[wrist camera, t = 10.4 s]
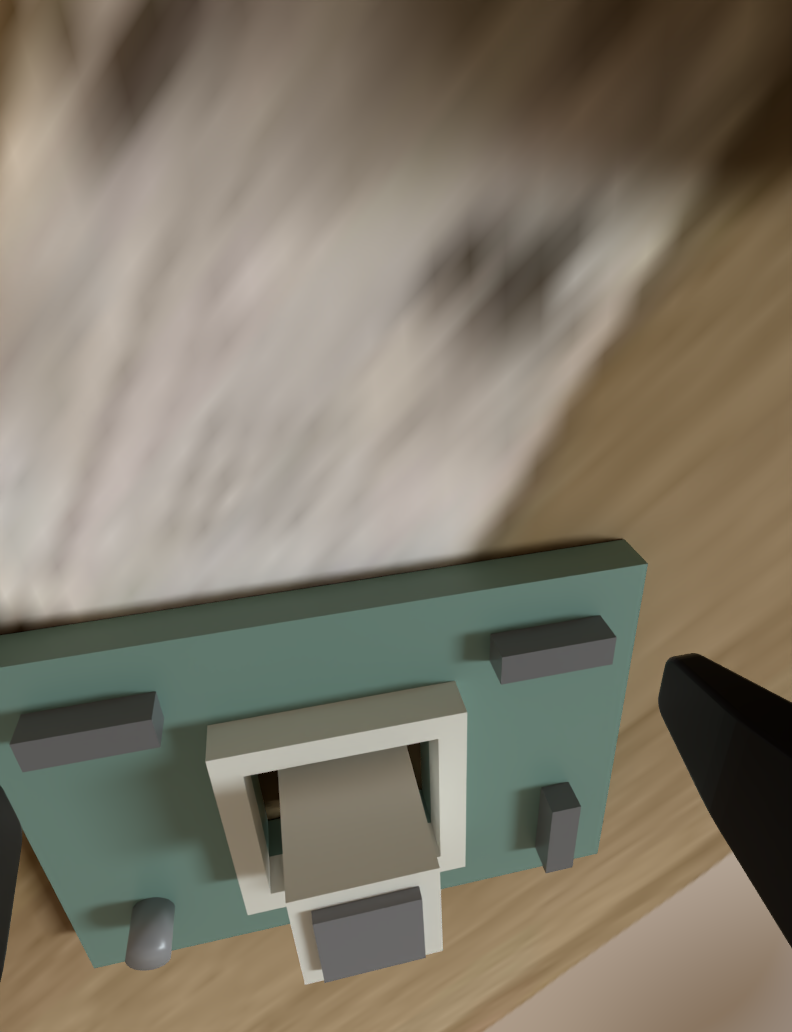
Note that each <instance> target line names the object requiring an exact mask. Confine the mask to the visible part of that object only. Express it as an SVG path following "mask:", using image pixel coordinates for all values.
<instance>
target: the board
mask: <svg viewBox="0 0 792 1032" xmlns="http://www.w3.org/2000/svg"><path fill="white" fill-rule="evenodd" d="M647 565H648V563H647V562H646V561H645V560H644V559H643V558H642V557H641V556H640V555H639V554H638V553H637V552H636V551H635V550H634V549H633V548H632V547H631V546H630V545H629V544H628V543H627V542H626V540H625V539H624V540H618V541H611V542H605V543H598V544H592V545H585V546H579V547H572V548H566V549H559V550H553V551H546V552H540V553H533V554H527V555H520V556H514V557H507V558H501V559H494V560H488V561H481V562H475V563H468V564H462V565H455V566H448V567H442V568H435V569H429V570H422V571H416V572H409V573H403V574H396V575H390V576H383V577H377V578H370V579H364V580H357V581H351V582H344V583H338V584H331V585H325V586H318V587H312V588H305V589H299V590H292V591H286V592H279V593H273V594H266V595H260V596H253V597H247V598H240V599H234V600H227V601H221V602H214V603H208V604H201V605H195V606H188V607H182V608H175V609H169V610H162V611H156V612H149V613H143V614H136V615H130V616H123V617H116V618H110V619H103V620H97V621H90V622H84V623H77V624H71V625H64V626H58V627H51V628H45V629H38V630H32V631H25V632H19V633H12V634H6V635H0V785H1V787H2V788H3V790H4V792H5V794H6V796H7V798H8V799H9V801H10V803H11V805H12V807H13V809H14V811H15V813H16V815H17V817H18V819H19V821H20V824H21V827H22V829H23V831H24V833H25V835H26V837H27V839H28V840H29V842H30V844H31V846H32V848H33V850H34V852H35V854H36V856H37V858H38V860H39V862H40V864H41V866H42V868H43V870H44V872H45V873H46V875H47V877H48V879H49V881H50V883H51V885H52V887H53V889H54V891H55V893H56V895H57V897H58V899H59V901H60V903H61V904H62V906H63V908H64V910H65V912H66V914H67V916H68V918H69V920H70V922H71V924H72V926H73V928H74V930H75V932H76V934H77V936H78V937H79V939H80V941H81V943H82V945H83V947H84V949H85V951H86V953H87V955H88V957H89V959H90V961H91V963H92V965H93V967H94V968H98V967H102V966H106V965H111V964H115V963H120V962H124V961H125V962H126V964H127V965H128V966H129V967H130V968H132V969H136V970H152V969H156V968H159V967H161V966H163V965H165V964H166V963H167V962H168V961H169V960H170V958H171V951H172V950H177V949H181V948H185V947H190V946H194V945H198V944H203V943H207V942H212V941H216V940H220V939H225V938H229V937H233V936H238V935H242V934H247V933H251V932H255V931H260V930H264V929H268V928H273V927H277V926H282V925H286V924H290V920H289V915H288V911H287V907H286V902H285V884H284V867H283V850H282V833H281V818H280V819H275V820H270V821H268V819H267V814H266V810H265V805H264V801H263V796H262V792H261V787H260V783H259V778H258V774H259V773H265V772H270V771H275V770H280V769H285V768H290V767H296V766H301V765H306V764H311V763H316V762H321V761H327V760H332V759H337V758H342V757H347V756H353V755H358V754H363V753H368V752H373V751H378V750H384V749H389V748H394V747H399V746H404V745H409V744H415V743H420V751H421V777H422V790H419V793H420V797H421V800H422V804H423V808H424V811H425V815H426V819H427V823H428V826H429V830H430V834H431V837H432V841H433V845H434V848H435V852H436V856H437V859H438V863H439V867H440V885H441V889H444V888H448V887H452V886H457V885H461V884H465V883H470V882H474V881H479V880H483V879H487V878H492V877H496V876H500V875H505V874H509V873H514V872H518V871H522V870H527V869H531V868H536V867H540V866H543V868H544V870H545V872H546V873H549V872H553V871H558V870H562V869H566V868H571V867H572V866H573V859H575V858H579V857H584V856H588V855H592V854H597V852H598V847H599V841H600V835H601V829H602V824H603V818H604V812H605V806H606V801H607V795H608V789H609V784H610V778H611V772H612V766H613V761H614V755H615V749H616V743H617V738H618V732H619V726H620V720H621V715H622V709H623V703H624V697H625V692H626V686H627V680H628V674H629V669H630V663H631V657H632V651H633V646H634V640H635V634H636V629H637V623H638V617H639V611H640V606H641V600H642V594H643V588H644V583H645V577H646V571H647Z"/></svg>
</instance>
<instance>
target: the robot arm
mask: <svg viewBox="0 0 792 1032" xmlns="http://www.w3.org/2000/svg"><path fill="white" fill-rule="evenodd" d="M658 704H659V709H660V713H661V715H662V718H663V720H664V722H665V724H666V726H667V728H668V730H669V732H670V734H671V736H672V738H673V740H674V742H675V744H676V746H677V749H678V751H679V753H680V755H681V757H682V759H683V761H684V763H685V765H686V767H687V769H688V771H689V773H690V775H691V777H692V780H693V782H694V784H695V786H696V788H697V790H698V792H699V794H700V796H701V798H702V800H703V802H704V804H705V806H706V808H707V810H708V811H709V813H710V815H711V817H712V818H713V820H714V822H715V824H716V825H717V827H718V829H719V830H720V832H721V834H722V835H723V837H724V838H725V840H726V842H727V843H728V845H729V847H730V848H731V850H732V852H733V853H734V855H735V856H736V858H737V860H738V861H739V863H740V865H741V866H742V868H743V869H744V871H745V873H746V874H747V876H748V878H749V879H750V881H751V882H752V884H753V886H754V887H755V889H756V890H757V892H758V894H759V896H760V897H761V899H762V900H763V902H764V904H765V905H766V907H767V909H768V910H769V912H770V913H771V915H772V917H773V918H774V920H775V922H776V923H777V925H778V926H779V928H780V930H781V931H782V933H783V935H784V936H785V938H786V939H787V941H788V943H789V944H790V946H791V947H792V702H790V701H788V700H786V699H784V698H782V697H780V696H778V695H776V694H774V693H772V692H771V691H769V690H767V689H765V688H763V687H761V686H759V685H757V684H755V683H753V682H752V681H750V680H748V679H746V678H744V677H742V676H740V675H738V674H736V673H734V672H733V671H731V670H729V669H727V668H725V667H723V666H721V665H719V664H717V663H715V662H713V661H712V660H710V659H708V658H706V657H704V656H702V655H700V654H696V653H690V654H685V655H679V656H674V657H671V658H669V659H668V661H667V662H666V664H665V668H664V673H663V678H662V682H661V687H660V692H659V697H658ZM21 845H22V828H21V824H20V821H19V819H18V817H17V815H16V813H15V811H14V809H13V807H12V805H11V803H10V801H9V799H8V798H7V796H6V794H5V792H4V790H3V788H2V787H1V785H0V981H1V977H2V972H3V967H4V961H5V955H6V949H7V942H8V935H9V928H10V922H11V915H12V908H13V901H14V894H15V887H16V880H17V873H18V866H19V859H20V852H21Z"/></svg>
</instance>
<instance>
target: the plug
mask: <svg viewBox="0 0 792 1032" xmlns="http://www.w3.org/2000/svg"><path fill="white" fill-rule="evenodd" d="M278 781H279V798H280V815H281V833H282V850H283V867H284V884H285V902H286V907H287V911H288V915H289V920H290V924H291V928H292V932H293V936H294V940H295V945H296V949H297V953H298V957H299V961H300V965H301V970H302V974H303V978H304V982H305V985H306V984H310V983H314V982H318V981H322V980H324V982H325V983H326V982H330V981H334V980H338V979H342V978H346V977H350V976H354V975H358V974H362V973H366V972H370V971H374V970H378V969H382V968H386V967H390V966H394V965H398V964H402V963H406V962H410V961H414V960H418V959H422V958H426V955H427V954H431V953H435V952H439V951H443V942H442V913H441V885H440V867H439V863H438V859H437V856H436V852H435V848H434V845H433V841H432V837H431V834H430V830H429V826H428V823H427V819H426V815H425V811H424V808H423V804H422V800H421V797H420V793H419V789H418V786H417V782H416V778H415V775H414V771H413V767H412V764H411V760H410V756H409V753H408V749H407V745H404V746H399V747H394V748H389V749H384V750H378V751H373V752H368V753H363V754H358V755H353V756H347V757H342V758H337V759H332V760H327V761H321V762H316V763H311V764H306V765H301V766H296V767H290V768H285V769H280V770H278Z"/></svg>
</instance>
